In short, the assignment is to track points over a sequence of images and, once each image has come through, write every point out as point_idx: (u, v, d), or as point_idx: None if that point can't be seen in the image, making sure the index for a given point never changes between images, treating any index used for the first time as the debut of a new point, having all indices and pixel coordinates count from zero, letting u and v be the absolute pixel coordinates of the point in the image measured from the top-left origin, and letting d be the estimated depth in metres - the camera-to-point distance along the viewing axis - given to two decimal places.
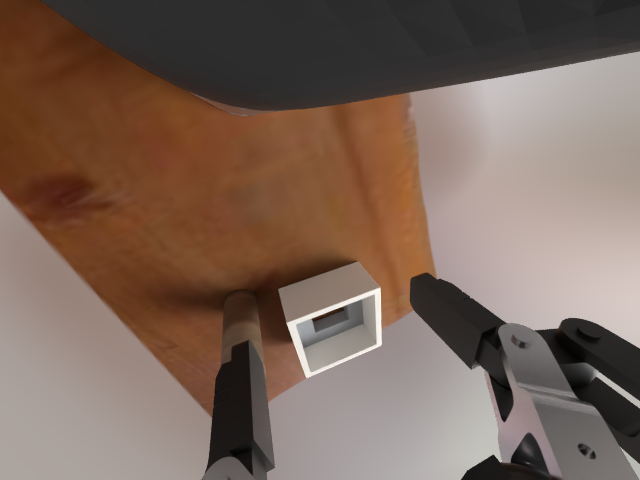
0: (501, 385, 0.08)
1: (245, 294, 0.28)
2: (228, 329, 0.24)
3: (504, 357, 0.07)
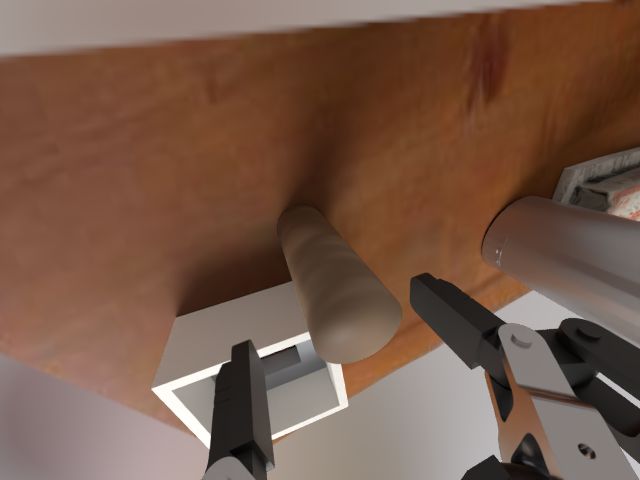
0: (501, 385, 0.08)
1: None
2: None
3: (504, 357, 0.07)
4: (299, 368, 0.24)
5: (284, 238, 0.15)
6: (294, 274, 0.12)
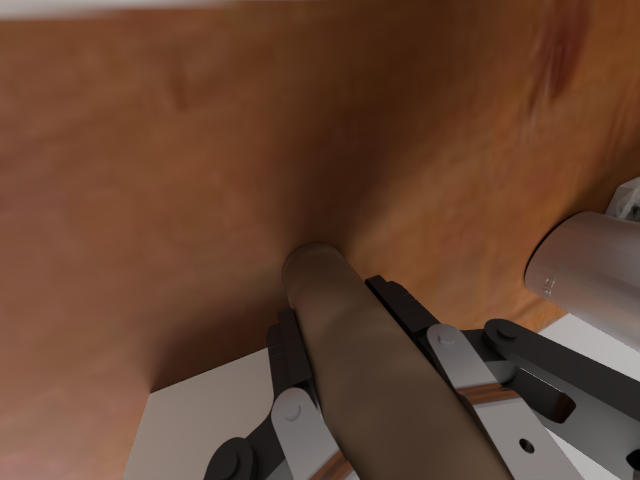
0: None
1: None
2: (389, 313, 0.09)
3: (438, 362, 0.07)
4: None
5: (294, 300, 0.11)
6: (319, 385, 0.07)
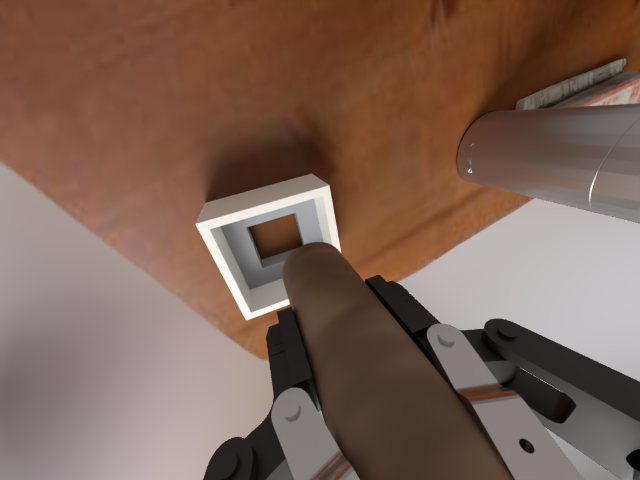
0: None
1: None
2: (389, 313, 0.09)
3: (438, 362, 0.07)
4: None
5: (295, 300, 0.11)
6: (319, 384, 0.07)
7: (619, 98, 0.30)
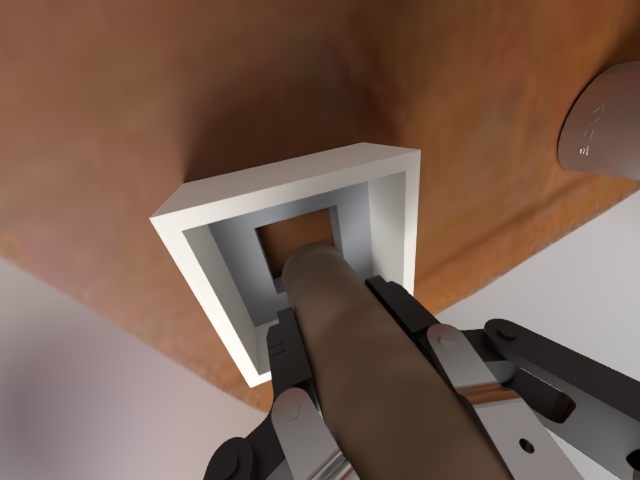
0: None
1: None
2: None
3: (438, 362, 0.07)
4: None
5: (294, 301, 0.11)
6: (319, 385, 0.07)
7: None
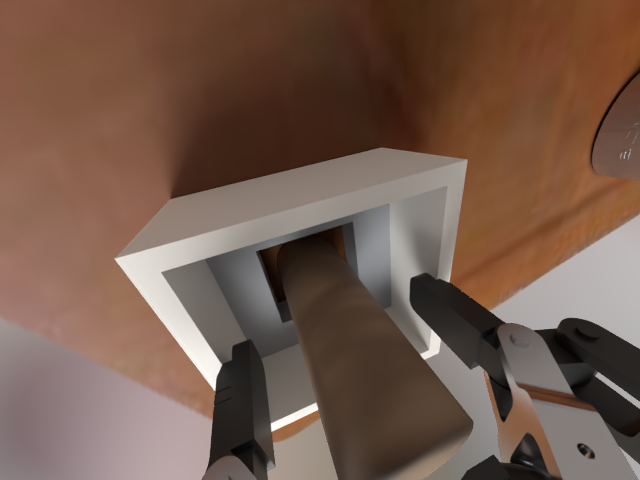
0: (500, 385, 0.08)
1: None
2: None
3: (503, 357, 0.07)
4: None
5: (287, 283, 0.12)
6: (305, 349, 0.09)
7: None
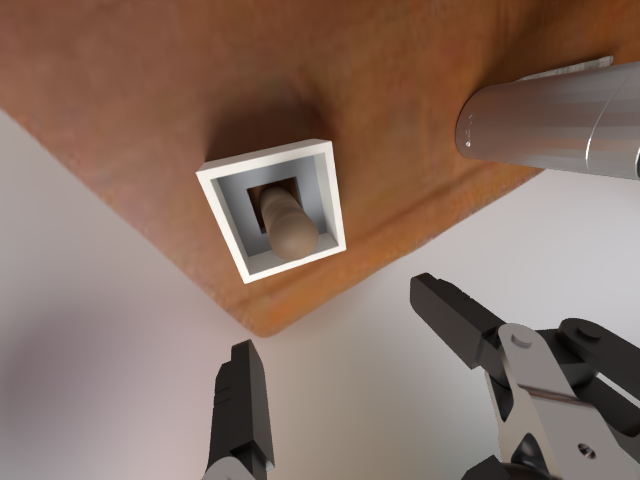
0: (501, 385, 0.08)
1: None
2: (298, 204, 0.23)
3: (504, 357, 0.07)
4: None
5: (261, 204, 0.24)
6: (265, 219, 0.21)
7: None
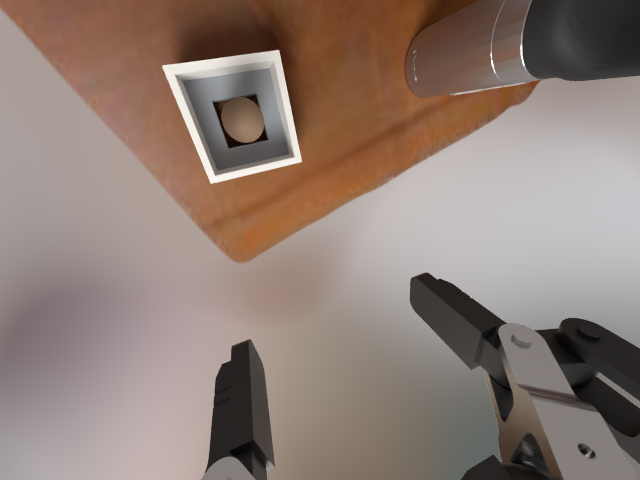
0: (501, 385, 0.08)
1: None
2: None
3: (504, 357, 0.07)
4: (267, 147, 0.32)
5: None
6: None
7: None
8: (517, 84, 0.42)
